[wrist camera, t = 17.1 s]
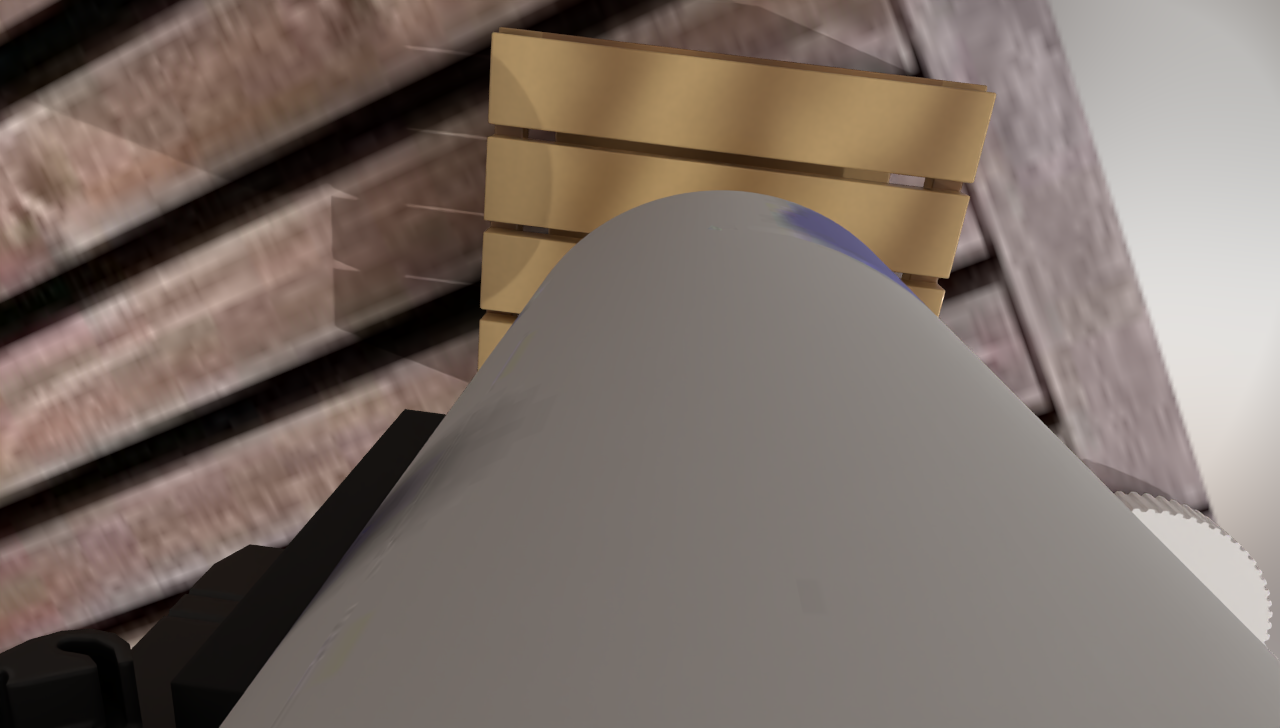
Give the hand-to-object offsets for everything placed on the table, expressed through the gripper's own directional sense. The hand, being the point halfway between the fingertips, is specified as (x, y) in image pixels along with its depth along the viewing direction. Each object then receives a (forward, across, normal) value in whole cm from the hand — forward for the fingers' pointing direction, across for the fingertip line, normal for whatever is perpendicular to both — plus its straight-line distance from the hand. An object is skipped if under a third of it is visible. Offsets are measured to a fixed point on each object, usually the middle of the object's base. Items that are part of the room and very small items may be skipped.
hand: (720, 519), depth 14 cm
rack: (+21, 0, 0) cm, 21 cm away
